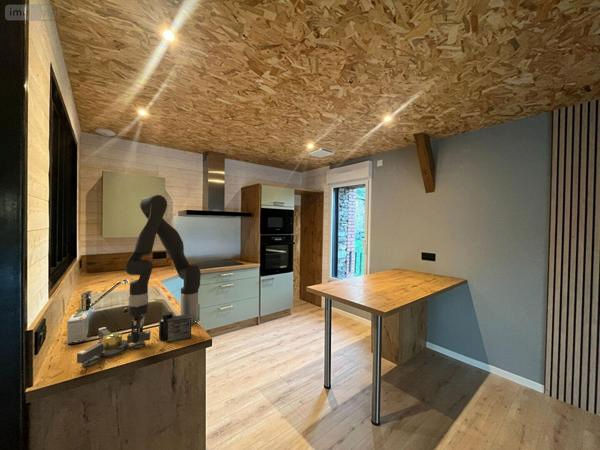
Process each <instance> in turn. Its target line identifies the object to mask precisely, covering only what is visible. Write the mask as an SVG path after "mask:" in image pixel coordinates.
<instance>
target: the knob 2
mask: <svg viewBox="0 0 600 450" xmlns="http://www.w3.org/2000/svg"><path fill="white" fill-rule="evenodd" d="M150 339H151V330H150V329H146V330H145V331H144V330H143V332H140V333H139V342H138V343H136V344H141V343H142V341H145V342H146V341H150ZM126 340H127V344H128V343H129V344H134V343H133V335H131V333H127V336H126Z"/></svg>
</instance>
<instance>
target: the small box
mask: <svg viewBox="0 0 600 450" xmlns="http://www.w3.org/2000/svg"><path fill="white" fill-rule="evenodd" d="M167 323H168V335H167V336H168V338H167V339H168V340H166V342H167V343H168V344H169V343H173V342H180V341H185V340H190V339H192V325H191V314H186V315H181V314H178V315H173V317H171V318H168V320H167Z"/></svg>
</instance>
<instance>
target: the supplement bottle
mask: <svg viewBox="0 0 600 450" xmlns="http://www.w3.org/2000/svg"><path fill="white" fill-rule="evenodd" d="M173 313H174V312H172V311H166V312H163V313H161V316H160V317H161V319H160V320H159V323H158V340H160V341H167V340H168V339H167V338H168V336H167V335H168V323H167V320H168V318H171V317H173V316H174V314H173Z"/></svg>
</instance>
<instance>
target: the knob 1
mask: <svg viewBox="0 0 600 450" xmlns="http://www.w3.org/2000/svg"><path fill="white" fill-rule="evenodd" d="M102 352H103V344H102V343H98V342H97V343H95V344H94V345H91V346H90V347H88V348H86V349H84V350H80V351H78V352H76V364H82V363H84V362H86V361H92V360H94V357H95V356H96V355H98V354H100V353H102Z"/></svg>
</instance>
